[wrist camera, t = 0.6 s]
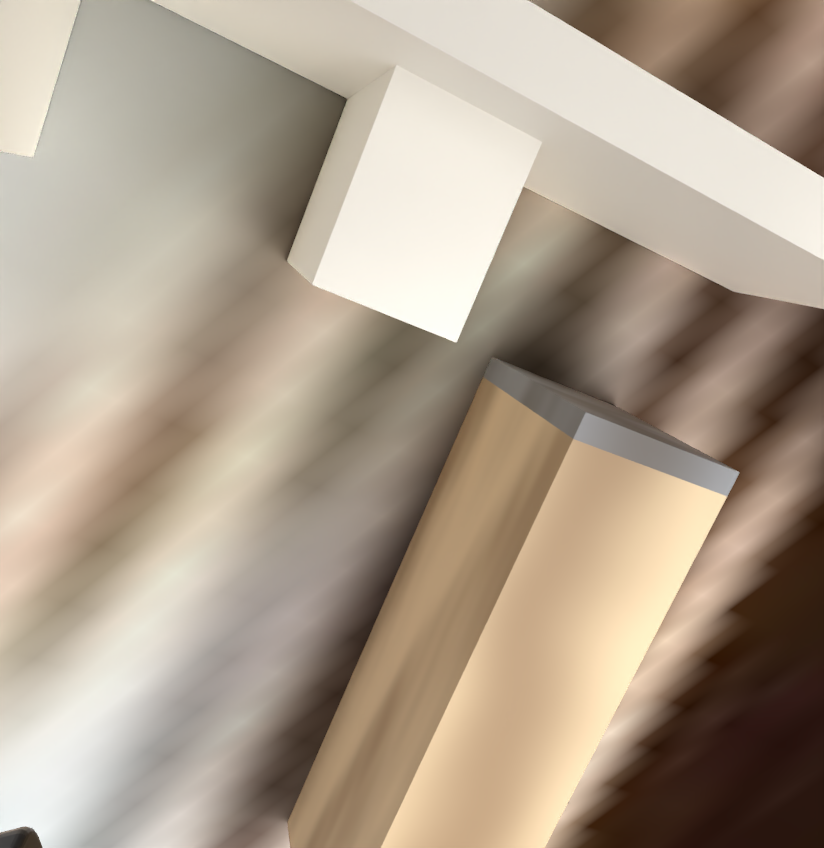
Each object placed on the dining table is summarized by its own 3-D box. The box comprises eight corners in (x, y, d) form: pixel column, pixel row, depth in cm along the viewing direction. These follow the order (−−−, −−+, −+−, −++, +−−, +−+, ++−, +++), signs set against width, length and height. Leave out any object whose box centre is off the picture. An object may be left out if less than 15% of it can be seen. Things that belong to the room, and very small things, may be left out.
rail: (615, 406, 22) (739, 472, 16) (408, 839, 24) (460, 1009, 19) (491, 356, 20) (585, 412, 15) (287, 822, 23) (308, 1001, 18)
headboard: (760, 238, 21) (1091, 267, 13) (671, 417, 22) (929, 544, 14) (-48, -198, 14) (-385, -700, 6) (-124, 94, 15) (-499, -16, 7)
